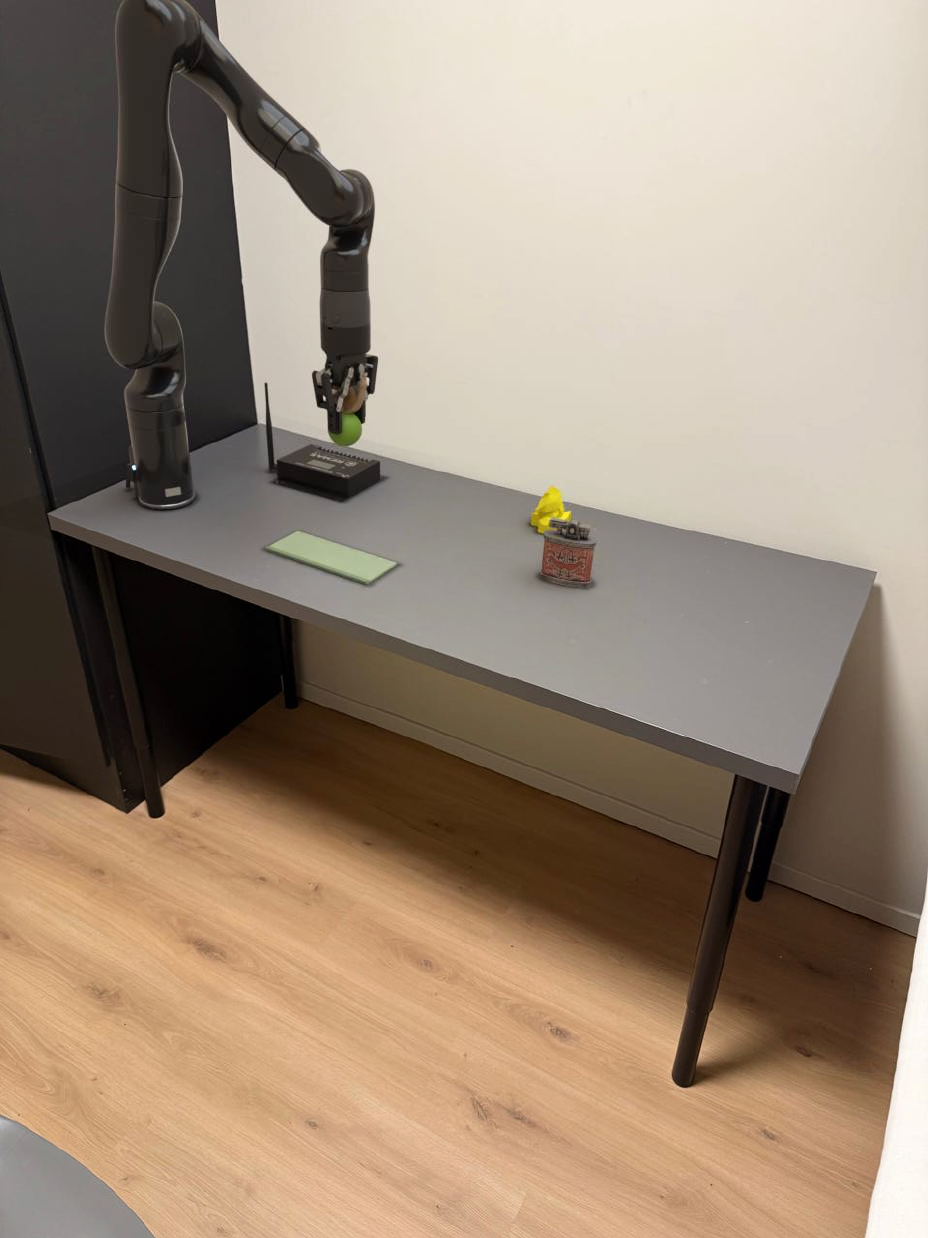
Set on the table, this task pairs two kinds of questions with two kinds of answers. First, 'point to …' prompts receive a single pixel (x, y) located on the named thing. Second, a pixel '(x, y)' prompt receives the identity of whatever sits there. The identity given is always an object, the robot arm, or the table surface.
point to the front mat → (331, 557)
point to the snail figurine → (350, 415)
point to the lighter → (568, 553)
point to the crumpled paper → (549, 510)
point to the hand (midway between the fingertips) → (347, 427)
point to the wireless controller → (321, 468)
